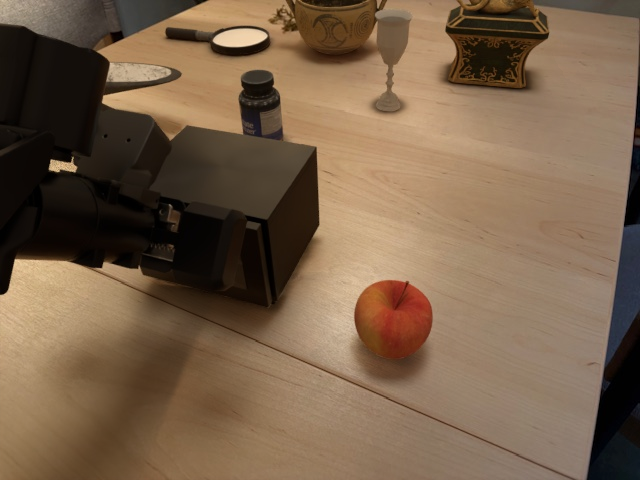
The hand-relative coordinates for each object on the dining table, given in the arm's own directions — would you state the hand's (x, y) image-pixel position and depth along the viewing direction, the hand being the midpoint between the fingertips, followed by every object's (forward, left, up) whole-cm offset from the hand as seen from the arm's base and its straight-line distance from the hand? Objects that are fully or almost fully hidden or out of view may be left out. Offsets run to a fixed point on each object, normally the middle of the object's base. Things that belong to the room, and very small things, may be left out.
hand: (183, 235), depth 50 cm
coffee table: (+25, +38, -11) cm, 47 cm away
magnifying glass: (+61, +46, -11) cm, 78 cm away
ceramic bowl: (+69, +21, -11) cm, 73 cm away
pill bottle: (+31, +13, -11) cm, 36 cm away
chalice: (+51, +1, -11) cm, 53 cm away
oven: (+8, +1, -11) cm, 14 cm away
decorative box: (+69, -9, -11) cm, 71 cm away
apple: (+5, -20, -11) cm, 23 cm away
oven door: (-1, 0, -9) cm, 9 cm away
